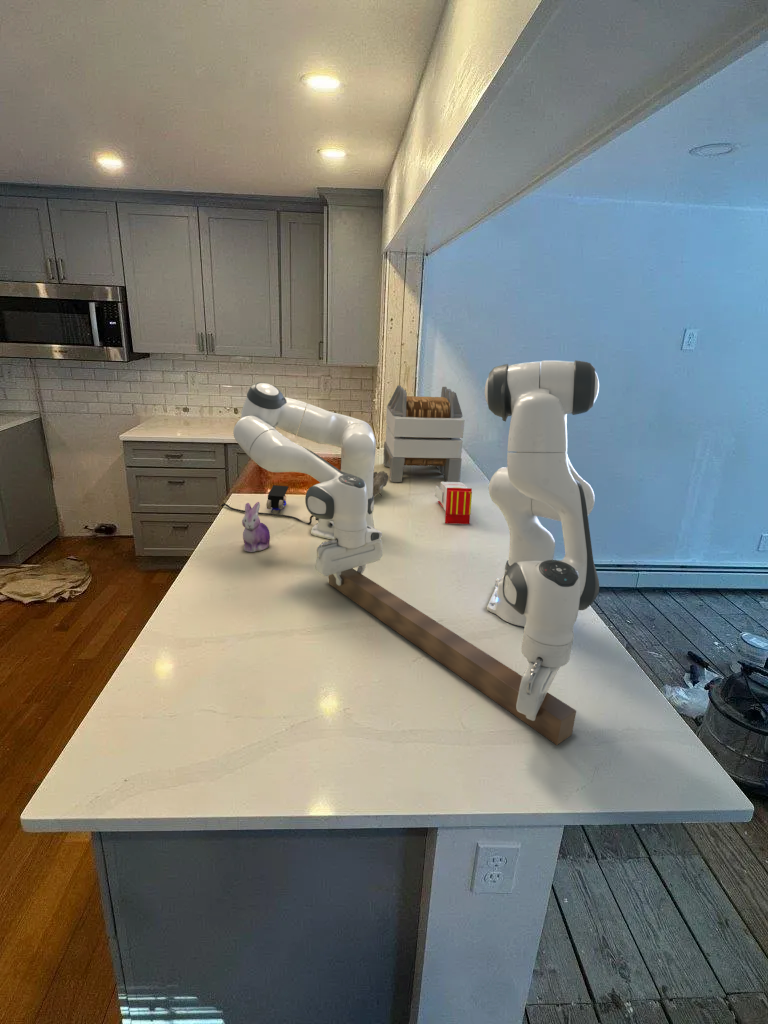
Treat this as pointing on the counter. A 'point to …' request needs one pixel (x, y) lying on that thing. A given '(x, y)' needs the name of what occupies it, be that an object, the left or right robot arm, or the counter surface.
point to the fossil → (379, 482)
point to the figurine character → (277, 498)
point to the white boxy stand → (424, 433)
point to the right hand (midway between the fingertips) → (536, 706)
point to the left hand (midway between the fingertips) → (349, 581)
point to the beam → (456, 654)
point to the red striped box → (455, 502)
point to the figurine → (254, 530)
